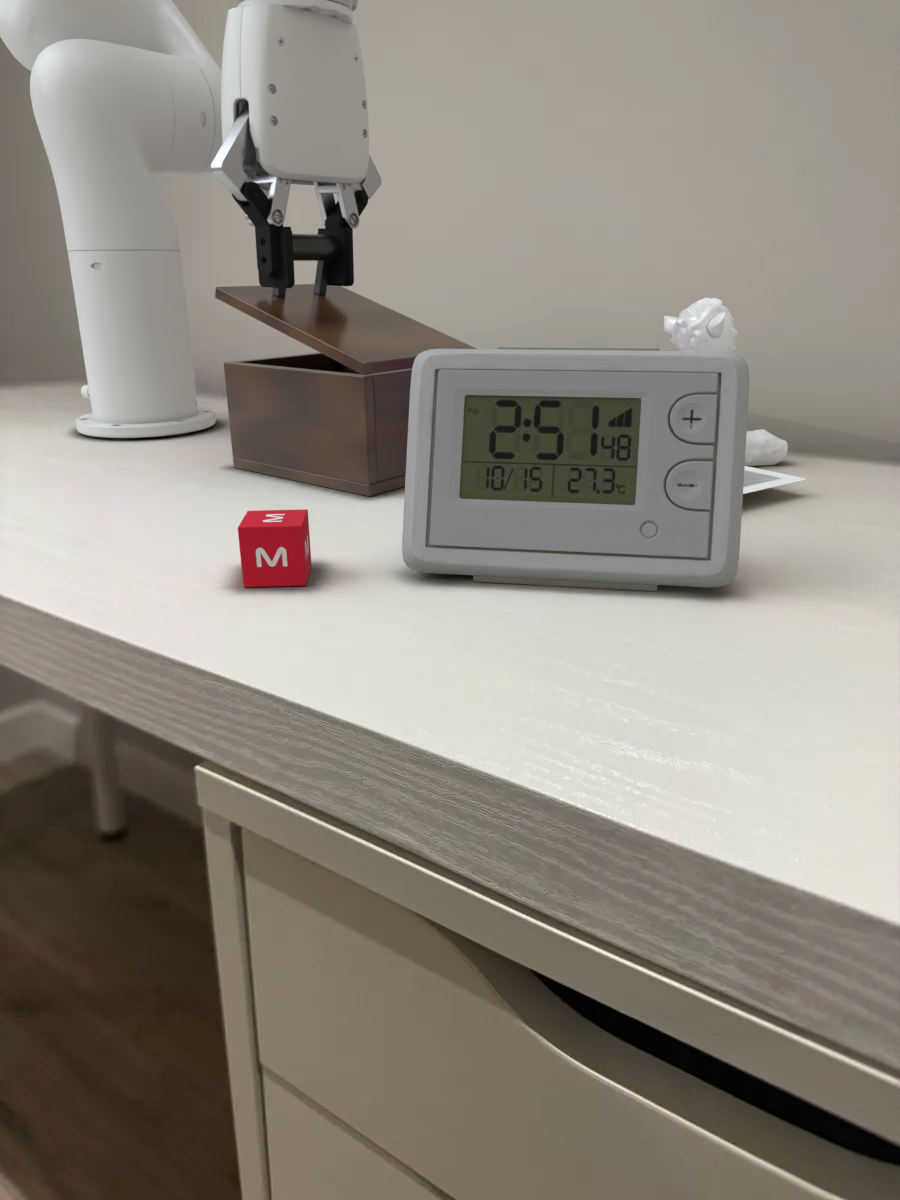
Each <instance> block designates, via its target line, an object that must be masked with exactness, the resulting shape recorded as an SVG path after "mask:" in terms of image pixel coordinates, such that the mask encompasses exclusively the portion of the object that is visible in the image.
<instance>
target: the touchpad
mask: <svg viewBox="0 0 900 1200" xmlns="http://www.w3.org/2000/svg"><path fill="white" fill-rule="evenodd" d="M808 480H809V479H808V478H805V477H800V476H795V475H791V474H787V473H781V472H777V471H772V470H767V469H762V468H757V467H754V466H745V467H744V484H743V495H746V494H751V493H754V492H759V491H763V490H767V489H771V488H777V487H781V486H785V485H790V484H794V483H799V482H803V481H808Z"/></svg>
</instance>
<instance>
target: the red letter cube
mask: <svg viewBox="0 0 900 1200" xmlns="http://www.w3.org/2000/svg"><path fill="white" fill-rule="evenodd" d="M309 522H310V521H309V509H305V508H303V509H267V510H265V509H264V510H261V509H260V510H247V511H246V513H245V514H244V516H243V518H242V520H241V521H240V523H239V524H238V526H237V536H238V546H239V556H240V565H241V575H242V576H241V577H242V586H243V588H266V587H268V588H269V587H299V586H302V587H303V586H304V587H305V586H307V585H308V584H307V583H308V580H309V576H310V572H311V569H312V566H313V565H312V552H311V551H312V550H311V537H310V523H309Z"/></svg>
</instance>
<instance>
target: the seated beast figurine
mask: <svg viewBox="0 0 900 1200" xmlns="http://www.w3.org/2000/svg"><path fill="white" fill-rule="evenodd" d="M723 303H724V302H723V300H722V299H720V298H716V297H712V298H711V297H704V298H702V299H699V300H696V301H695V302H694V303H691V304H690V305H689V306H688V307H686V308H684V309H683V310H682V311H680V312H679V314H678V316H672V315H664V316H663V331H664V333H665V334H666V335H667V336H669V337H671V339H670V343H672V344H673V345H675V346H676V349H677V350H678V351H722V352H731V353H734V351H735V350H737V346H736V339H737V338H736V337H737V336H738V335H739V333H738V330H737V329H736V328H735V327H734V321H735V320H734V317H733V316H732V315H731V311H730V310H729V309H728V307H727V306H725V305H723ZM788 449H789V445H788V442H787V440H784V439H782V438H780V437H778V436H776V435H774V434H772V433H771V432H769V431H768V430H767V429H765V428H761V429H754V430H747V434H746V451H745V466H748V467H756V466H757V467H758V466H775V465H778V464H779V463H781V462H783V461H784V460H785V459H786V457H787V456H788V455H787V454H788V453H789V451H788Z"/></svg>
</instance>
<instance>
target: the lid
mask: <svg viewBox="0 0 900 1200" xmlns="http://www.w3.org/2000/svg"><path fill="white" fill-rule="evenodd" d="M292 237H293V257H294V262H317V263H316V270H315V277H314V283H302V284H301V283H299V284H294V286H293V287H292V288H271V287H262V286H261V285H237V286H216V287H215V292H214V298H215V299H216V300H218V301H221V302H222V303H224V304H226V305H228V306H230V307H232V308H234V309H236V310H238V311H240V312H241V313H243V314H245V315H247V316H249V317H251V318H253V319H255V320H256V321H259V322H261V323H263V324H265V325H267V326H268V327H271V328H272V329H274V330H276V331H278V332H280V333H282V334H284V335H286V336H288V337H289V338H291V339H293V340H295V341H297V342H299V343H301V344H303V345H305V346H307V347H309V348H311V349H312V350H314V351H316V352H317V353H318V352H320V353H322V354H324V355H326V356H328V357H330V358H332V359H334V360H335V361H337V362H339V363H341V364H343V365H345V366H347V367H349V368H351V369H353V370H355V371H357V372H359V373H360V374H362V375H367V374H374V373H381V372H388V371H396V370H403V369H410V368H413V363H414V360H415V358H416V357H417V356H418V354H420V353H422V352H423V351H427V350H431V349H477V348H476V347H474V346H472V345H469V344H468V343H467V342H466V343H465V342H463V341H461V340H459V339H457V338H455V337H452V336H451V335H449V334H446V333H444V332H442V331H439V330H437V329H435V328H433V327H431V326H428V325H427V324H424V323H422V322H420V321H418V320H416V319H413V318H411V317H409V316H407V315H405V314H403V313H400V312H399V311H396V310H394V309H392V308H389V307H387V306H385V305H383V304H380V303H378V302H377V301H374V300H372V299H370V298H369V297H366V296H363V295H361V294H359V293H358V292H355V291H353V290H350V289H348V288H346V287H345V286H332V285H327V282H328V275H329V268H330V261H332V260H334V259H335V258H336V257H337V255H338V252H339V245H338V242H337V239H336V238H335V237H334V236H333V235H320V234H315V233H292Z"/></svg>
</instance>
